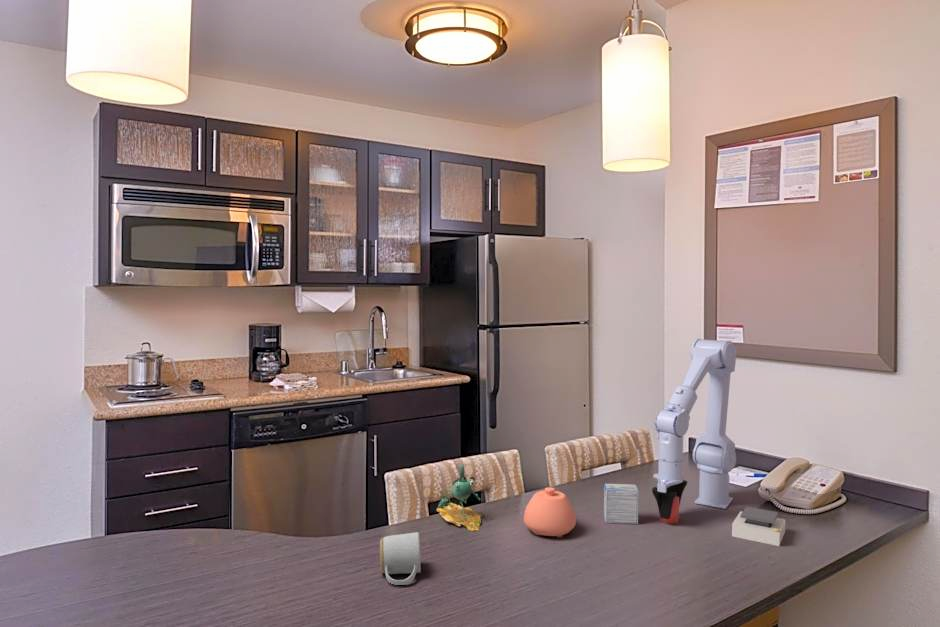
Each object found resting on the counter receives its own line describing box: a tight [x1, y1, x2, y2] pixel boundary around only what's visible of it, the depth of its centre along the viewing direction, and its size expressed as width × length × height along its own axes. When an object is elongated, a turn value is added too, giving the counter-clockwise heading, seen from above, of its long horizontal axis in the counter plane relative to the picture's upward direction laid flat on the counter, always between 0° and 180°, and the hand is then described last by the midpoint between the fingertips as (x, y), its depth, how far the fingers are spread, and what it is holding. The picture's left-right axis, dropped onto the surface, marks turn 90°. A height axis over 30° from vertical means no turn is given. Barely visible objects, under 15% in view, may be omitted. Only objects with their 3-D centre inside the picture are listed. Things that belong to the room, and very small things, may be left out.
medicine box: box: [603, 483, 640, 525], centre depth 157 cm, size 8×4×9 cm, turn 84°
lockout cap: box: [659, 496, 680, 525], centre depth 158 cm, size 4×4×6 cm
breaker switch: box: [740, 506, 779, 528], centre depth 149 cm, size 7×7×4 cm
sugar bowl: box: [523, 486, 577, 538], centre depth 151 cm, size 12×14×10 cm
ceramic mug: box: [379, 531, 421, 585], centre depth 127 cm, size 11×8×8 cm
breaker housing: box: [731, 510, 787, 547], centre depth 149 cm, size 10×10×4 cm
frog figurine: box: [436, 464, 482, 532], centre depth 157 cm, size 10×18×15 cm, turn 26°
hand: (669, 513), depth 158 cm, fingers open, 7 cm apart
